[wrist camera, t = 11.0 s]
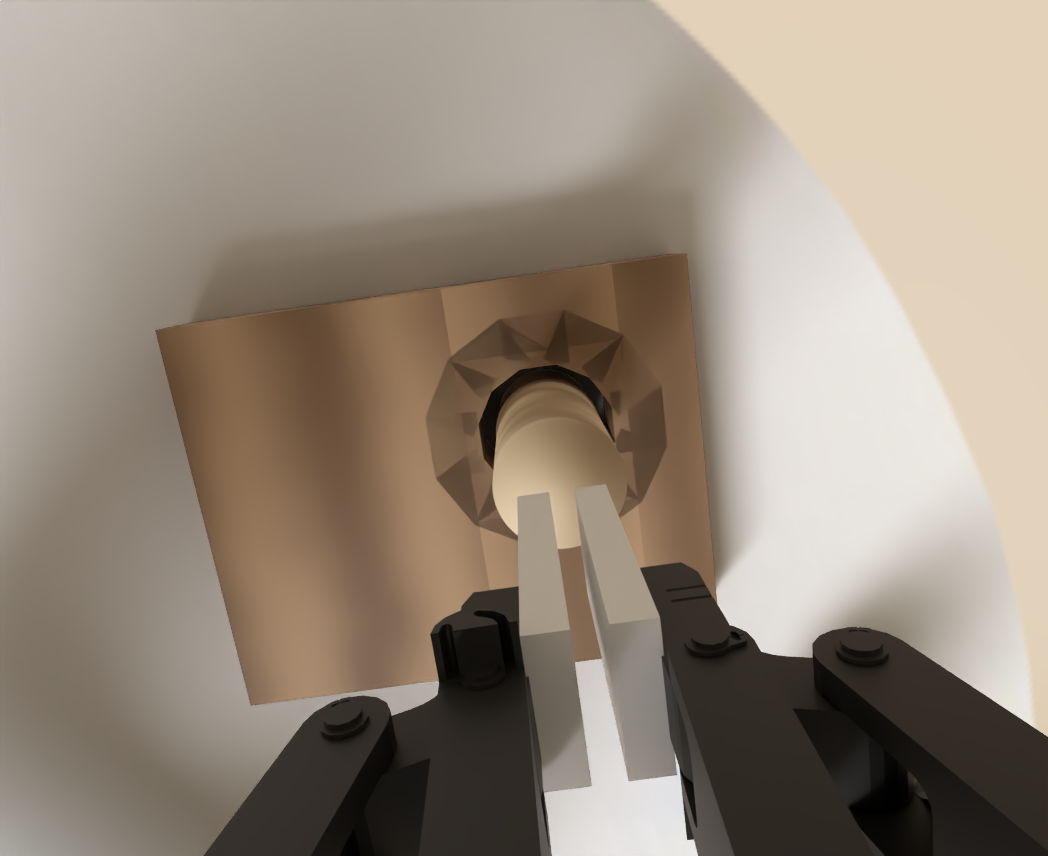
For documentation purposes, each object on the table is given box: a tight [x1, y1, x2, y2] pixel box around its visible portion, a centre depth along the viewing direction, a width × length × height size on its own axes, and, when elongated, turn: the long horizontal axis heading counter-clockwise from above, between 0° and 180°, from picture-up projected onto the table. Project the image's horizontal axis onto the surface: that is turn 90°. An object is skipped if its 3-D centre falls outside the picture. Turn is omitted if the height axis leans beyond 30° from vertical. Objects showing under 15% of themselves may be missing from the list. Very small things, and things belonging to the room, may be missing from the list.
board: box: [155, 254, 717, 705], centre depth 30 cm, size 20×16×3 cm
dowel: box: [492, 369, 627, 549], centre depth 27 cm, size 4×4×10 cm
